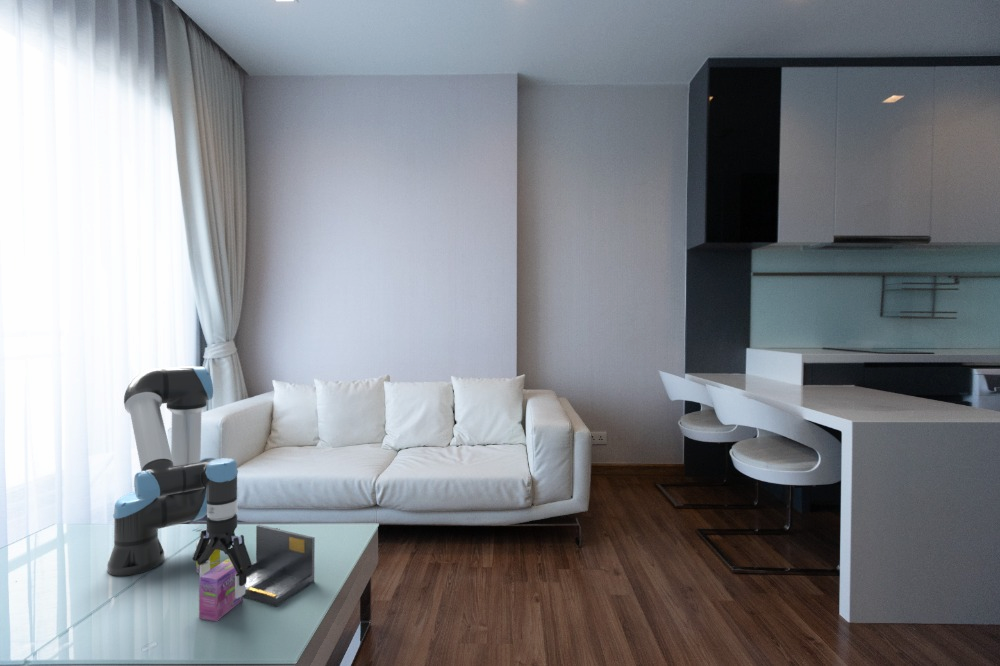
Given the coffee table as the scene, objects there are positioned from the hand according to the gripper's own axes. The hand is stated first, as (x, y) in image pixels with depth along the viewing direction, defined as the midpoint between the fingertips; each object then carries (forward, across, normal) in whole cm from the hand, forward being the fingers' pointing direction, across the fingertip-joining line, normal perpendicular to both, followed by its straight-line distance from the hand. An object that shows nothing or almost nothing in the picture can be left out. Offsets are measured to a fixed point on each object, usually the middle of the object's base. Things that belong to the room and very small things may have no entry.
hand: (222, 591), depth 142 cm
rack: (+5, +1, +15) cm, 16 cm away
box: (+6, 0, 0) cm, 6 cm away
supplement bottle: (+5, -23, +14) cm, 28 cm away
